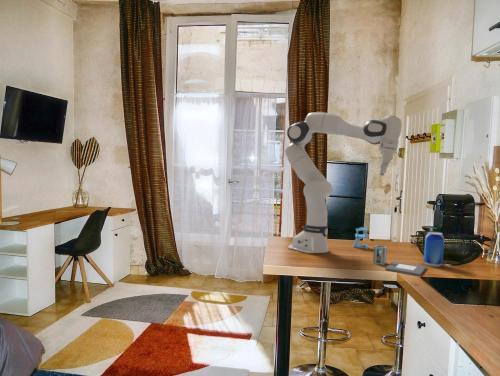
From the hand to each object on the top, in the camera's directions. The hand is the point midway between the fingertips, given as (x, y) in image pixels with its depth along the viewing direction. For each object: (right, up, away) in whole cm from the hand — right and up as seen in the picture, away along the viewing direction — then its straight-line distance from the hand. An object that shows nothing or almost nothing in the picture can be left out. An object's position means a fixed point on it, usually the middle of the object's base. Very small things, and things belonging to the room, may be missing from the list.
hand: (382, 174), depth 197 cm
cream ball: (-2, -39, -4) cm, 40 cm away
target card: (+6, -45, -13) cm, 47 cm away
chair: (-2, -42, +32) cm, 53 cm away
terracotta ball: (-3, -42, -4) cm, 42 cm away
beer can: (+24, -45, -3) cm, 51 cm away
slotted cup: (-3, -44, -4) cm, 44 cm away
